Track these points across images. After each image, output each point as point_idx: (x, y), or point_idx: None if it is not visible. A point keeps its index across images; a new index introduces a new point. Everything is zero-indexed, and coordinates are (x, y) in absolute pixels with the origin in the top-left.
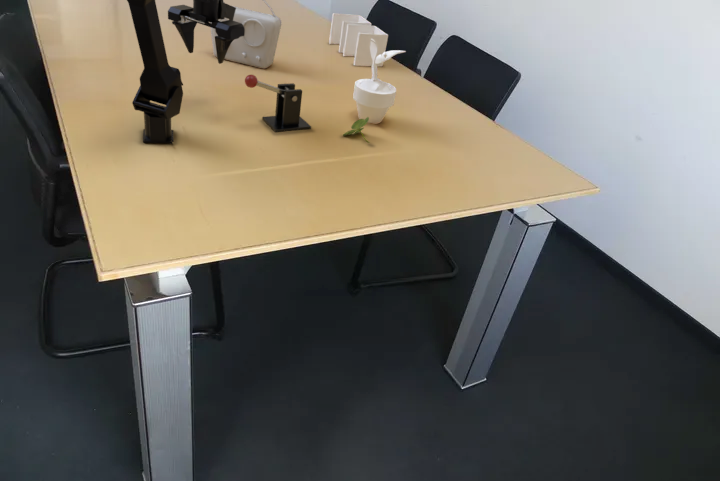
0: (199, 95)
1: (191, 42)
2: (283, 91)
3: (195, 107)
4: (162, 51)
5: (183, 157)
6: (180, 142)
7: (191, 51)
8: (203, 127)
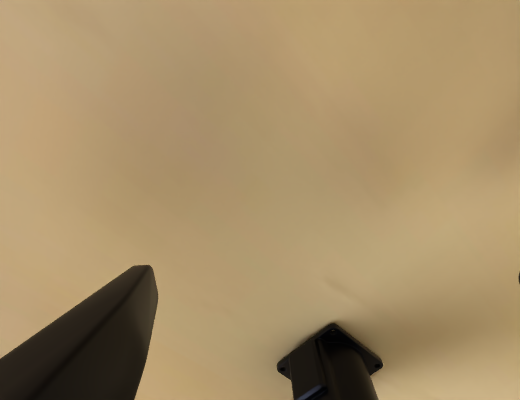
0: (129, 7)
1: (110, 366)
2: None
3: (233, 136)
4: None
5: (444, 381)
6: (389, 343)
7: (152, 292)
8: (377, 240)
